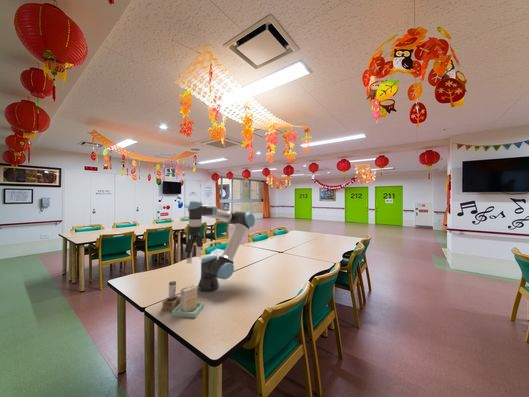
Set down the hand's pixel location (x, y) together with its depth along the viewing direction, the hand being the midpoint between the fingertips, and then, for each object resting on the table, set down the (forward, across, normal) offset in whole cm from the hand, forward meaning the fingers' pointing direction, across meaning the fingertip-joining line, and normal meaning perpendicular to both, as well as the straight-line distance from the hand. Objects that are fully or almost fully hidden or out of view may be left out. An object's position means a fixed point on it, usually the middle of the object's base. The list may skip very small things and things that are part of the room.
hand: (194, 259), depth 126 cm
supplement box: (+28, +6, 0) cm, 29 cm away
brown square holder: (+29, +3, -12) cm, 31 cm away
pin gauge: (+29, +3, -12) cm, 31 cm away
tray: (+29, +6, 0) cm, 29 cm away
